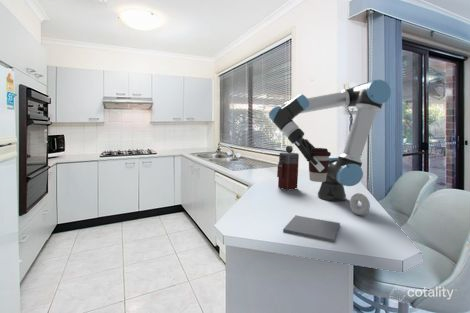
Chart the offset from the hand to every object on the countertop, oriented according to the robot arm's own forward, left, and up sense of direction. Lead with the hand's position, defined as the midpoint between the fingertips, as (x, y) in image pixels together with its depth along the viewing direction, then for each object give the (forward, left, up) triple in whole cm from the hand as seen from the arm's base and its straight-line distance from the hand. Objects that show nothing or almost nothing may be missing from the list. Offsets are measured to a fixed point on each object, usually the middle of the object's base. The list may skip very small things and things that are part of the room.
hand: (325, 168), depth 116 cm
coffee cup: (+2, -3, -6) cm, 7 cm away
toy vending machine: (-12, -49, -21) cm, 54 cm away
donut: (-14, +7, -21) cm, 27 cm away
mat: (+17, +13, -21) cm, 30 cm away
